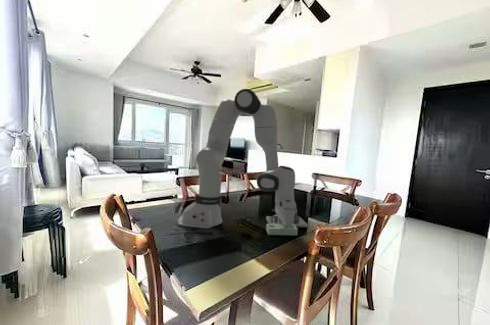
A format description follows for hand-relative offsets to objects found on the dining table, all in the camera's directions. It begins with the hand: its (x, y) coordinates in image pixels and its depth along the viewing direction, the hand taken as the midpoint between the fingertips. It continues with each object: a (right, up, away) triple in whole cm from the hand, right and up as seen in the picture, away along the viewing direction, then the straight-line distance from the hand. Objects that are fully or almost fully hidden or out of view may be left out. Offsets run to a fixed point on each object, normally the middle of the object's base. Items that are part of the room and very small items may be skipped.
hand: (282, 227), depth 108 cm
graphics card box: (+2, +1, +36) cm, 36 cm away
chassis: (+4, -1, +14) cm, 14 cm away
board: (-1, -2, 0) cm, 2 cm away
